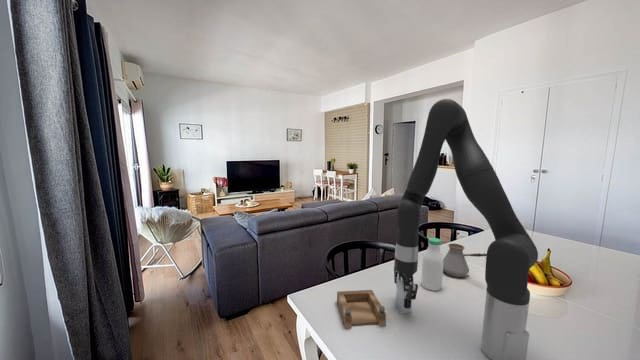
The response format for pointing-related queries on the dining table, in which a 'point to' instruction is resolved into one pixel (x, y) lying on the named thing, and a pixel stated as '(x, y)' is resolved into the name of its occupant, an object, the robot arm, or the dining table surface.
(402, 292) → the cylinder
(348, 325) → the holder
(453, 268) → the coffee pot
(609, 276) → the dining table surface
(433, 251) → the milk bottle
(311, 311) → the dining table surface
